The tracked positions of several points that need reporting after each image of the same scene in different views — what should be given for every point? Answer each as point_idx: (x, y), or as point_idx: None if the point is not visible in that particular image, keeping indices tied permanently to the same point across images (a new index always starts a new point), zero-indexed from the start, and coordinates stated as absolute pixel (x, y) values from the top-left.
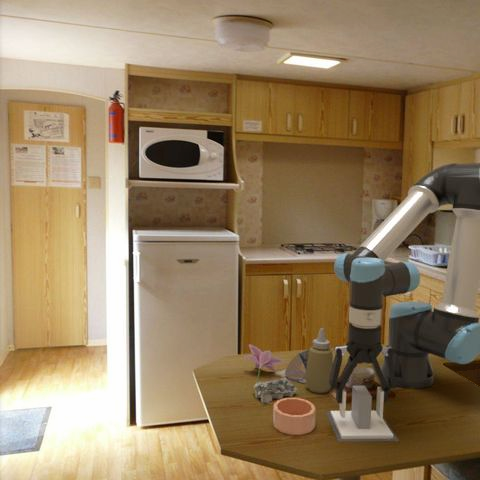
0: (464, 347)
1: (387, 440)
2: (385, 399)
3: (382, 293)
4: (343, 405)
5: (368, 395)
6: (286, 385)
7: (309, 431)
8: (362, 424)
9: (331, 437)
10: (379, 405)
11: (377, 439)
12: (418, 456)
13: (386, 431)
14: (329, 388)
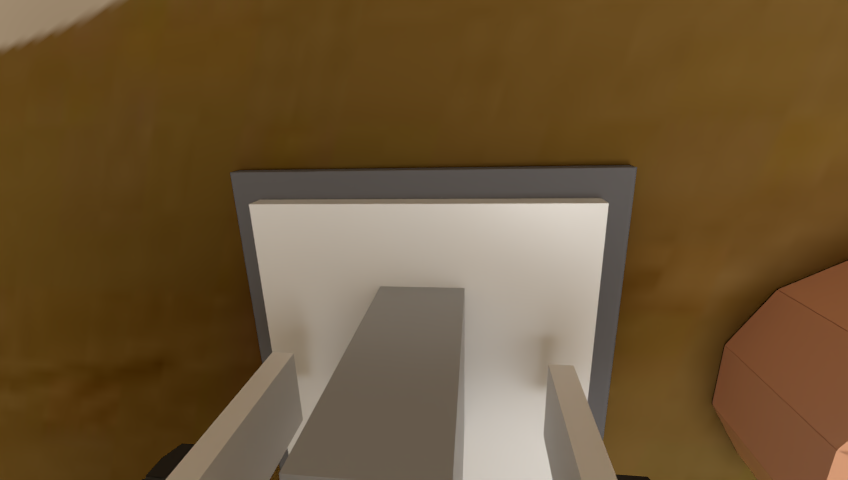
0: None
1: (299, 176)
2: (168, 472)
3: None
4: (594, 443)
5: None
6: None
7: (810, 291)
8: (429, 301)
9: (647, 245)
10: (251, 426)
11: (359, 189)
12: (149, 18)
13: (284, 250)
14: None
